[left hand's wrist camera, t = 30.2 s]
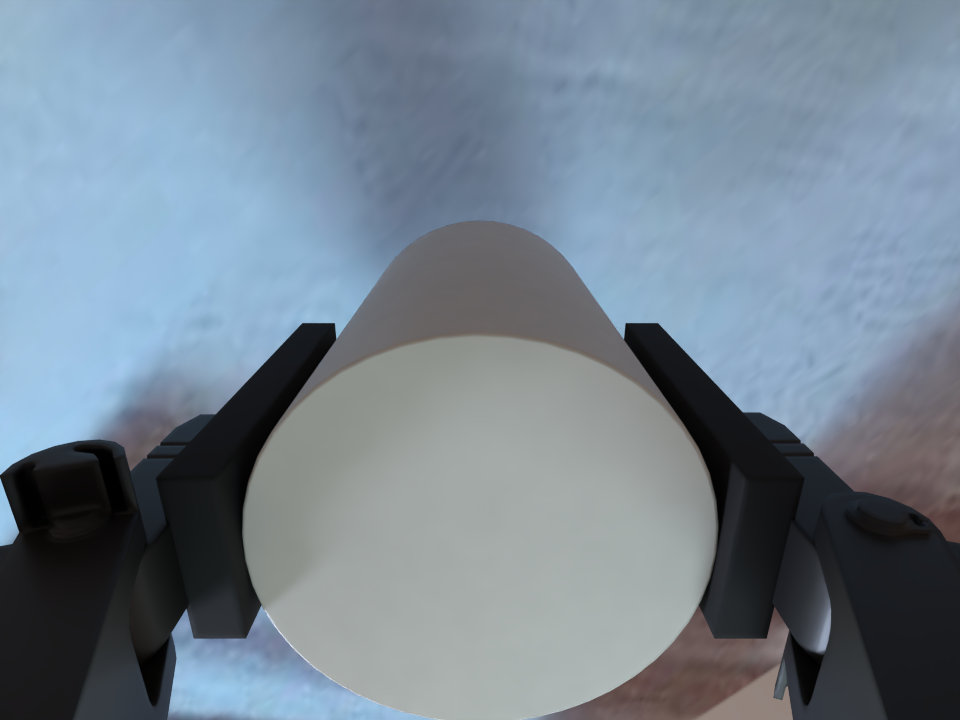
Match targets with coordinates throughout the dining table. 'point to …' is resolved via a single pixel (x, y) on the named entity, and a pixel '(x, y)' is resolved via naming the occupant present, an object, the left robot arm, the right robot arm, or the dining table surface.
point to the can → (480, 492)
